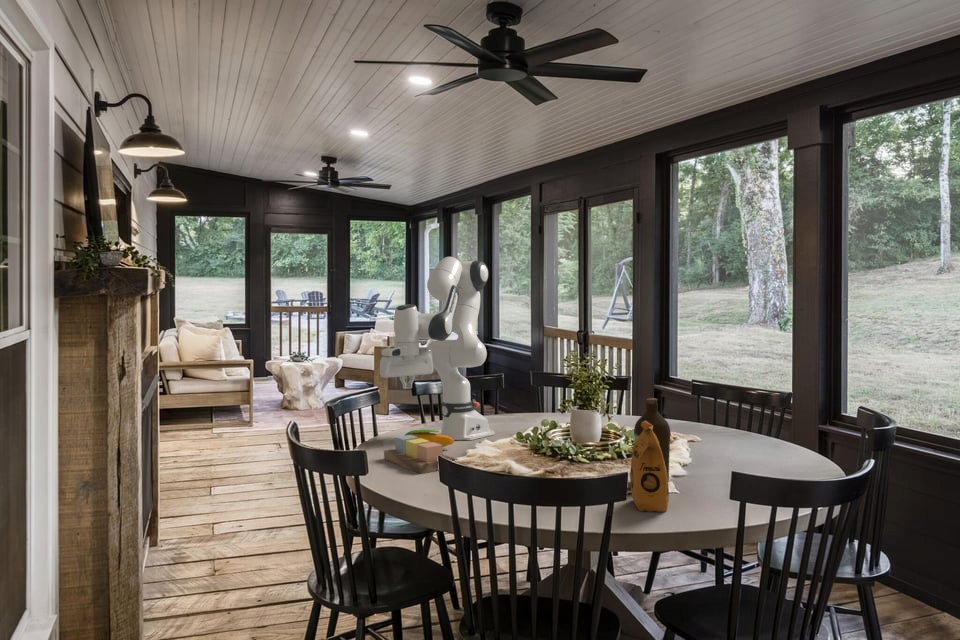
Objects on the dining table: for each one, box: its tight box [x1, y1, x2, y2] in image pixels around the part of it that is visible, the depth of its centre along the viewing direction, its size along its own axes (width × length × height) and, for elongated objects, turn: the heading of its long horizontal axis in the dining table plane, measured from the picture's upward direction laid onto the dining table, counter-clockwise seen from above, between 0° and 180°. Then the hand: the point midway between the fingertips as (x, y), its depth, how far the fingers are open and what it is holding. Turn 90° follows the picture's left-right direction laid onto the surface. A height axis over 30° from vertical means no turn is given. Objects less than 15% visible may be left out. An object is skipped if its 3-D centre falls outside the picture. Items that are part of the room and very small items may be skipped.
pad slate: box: [394, 434, 418, 454], centre depth 250 cm, size 6×6×5 cm
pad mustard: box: [406, 438, 430, 458], centre depth 243 cm, size 6×6×5 cm
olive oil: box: [633, 397, 671, 483], centre depth 214 cm, size 11×11×25 cm
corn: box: [403, 429, 456, 448], centre depth 265 cm, size 7×8×20 cm
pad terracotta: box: [418, 442, 444, 462], centre depth 237 cm, size 6×6×5 cm
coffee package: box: [629, 421, 670, 513], centre depth 191 cm, size 10×12×22 cm
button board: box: [383, 448, 456, 475], centre depth 244 cm, size 13×26×3 cm, turn 35°
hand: (407, 388), depth 255 cm, fingers closed
